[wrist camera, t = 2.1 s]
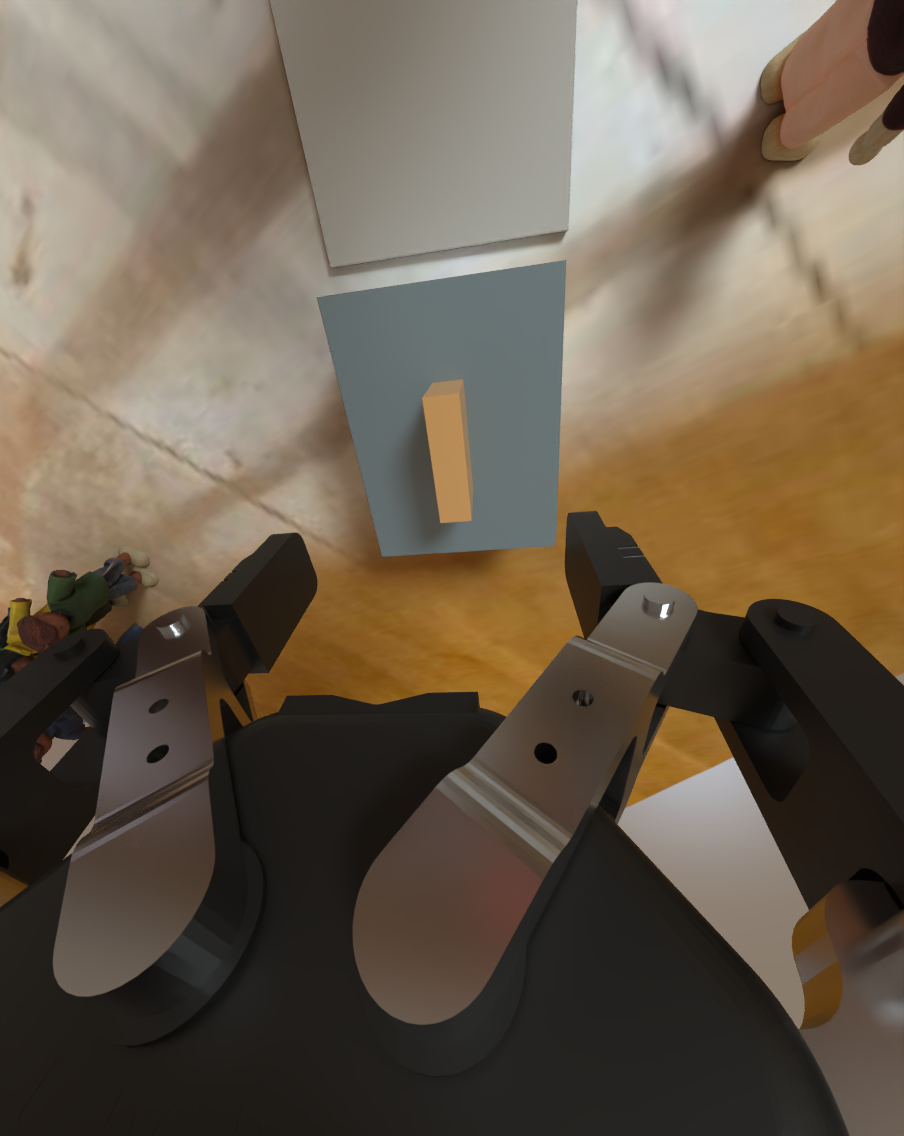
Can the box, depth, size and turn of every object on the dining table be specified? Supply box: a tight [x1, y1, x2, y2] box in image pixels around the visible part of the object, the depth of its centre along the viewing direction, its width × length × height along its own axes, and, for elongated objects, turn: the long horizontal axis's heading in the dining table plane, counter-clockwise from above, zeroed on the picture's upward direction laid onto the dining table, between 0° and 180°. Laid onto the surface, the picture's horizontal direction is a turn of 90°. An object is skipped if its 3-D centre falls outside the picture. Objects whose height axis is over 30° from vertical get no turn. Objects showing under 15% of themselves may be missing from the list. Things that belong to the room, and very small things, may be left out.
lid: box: [317, 260, 566, 557], centre depth 21 cm, size 14×11×6 cm
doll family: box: [0, 546, 158, 763], centre depth 37 cm, size 23×9×13 cm, turn 172°
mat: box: [270, 0, 577, 268], centre depth 18 cm, size 16×14×1 cm
